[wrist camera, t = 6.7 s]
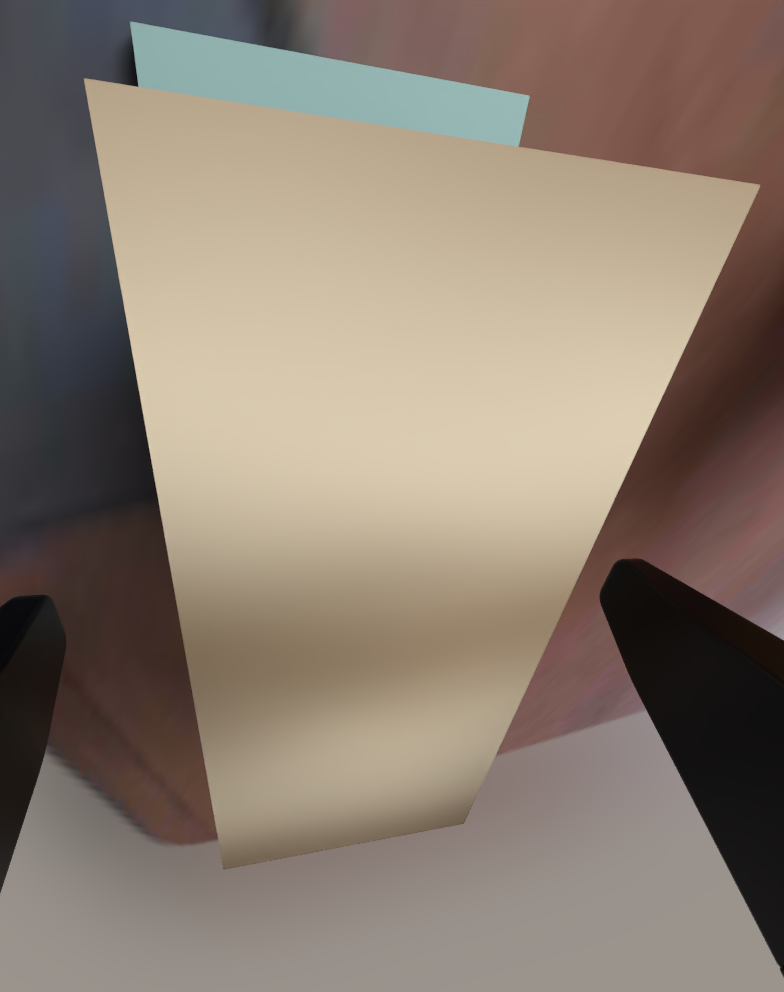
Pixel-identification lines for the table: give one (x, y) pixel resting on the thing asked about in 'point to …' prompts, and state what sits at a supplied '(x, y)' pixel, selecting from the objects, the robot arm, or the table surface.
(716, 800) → the robot arm
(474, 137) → the peg stand
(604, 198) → the board
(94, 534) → the table surface
